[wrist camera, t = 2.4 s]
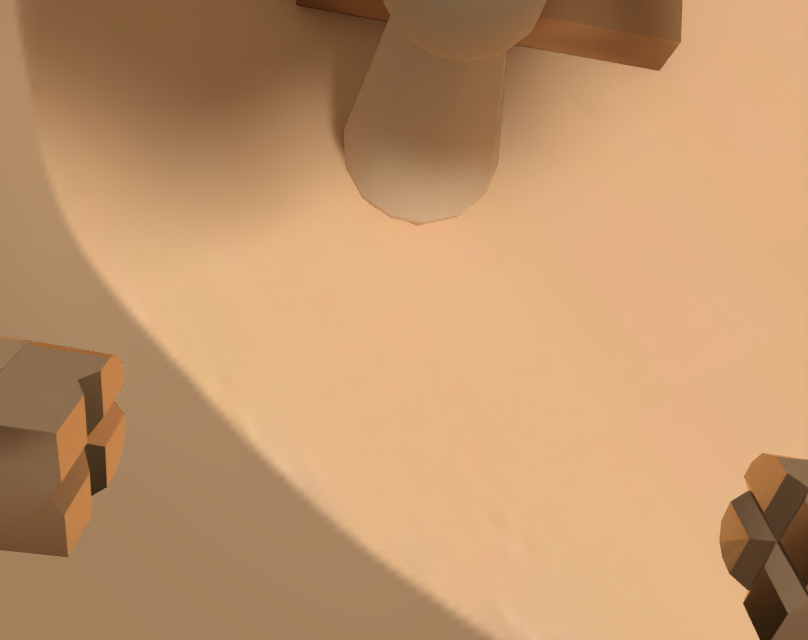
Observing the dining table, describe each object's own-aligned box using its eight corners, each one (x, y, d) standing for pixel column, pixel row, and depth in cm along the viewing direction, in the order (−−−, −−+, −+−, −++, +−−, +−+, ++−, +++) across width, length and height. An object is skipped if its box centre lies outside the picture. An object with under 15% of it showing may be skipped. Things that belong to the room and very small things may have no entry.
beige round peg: (340, 111, 29) (348, -181, 17) (477, 112, 30) (582, -170, 18) (345, 245, 28) (357, 34, 15) (489, 243, 29) (612, 38, 16)
